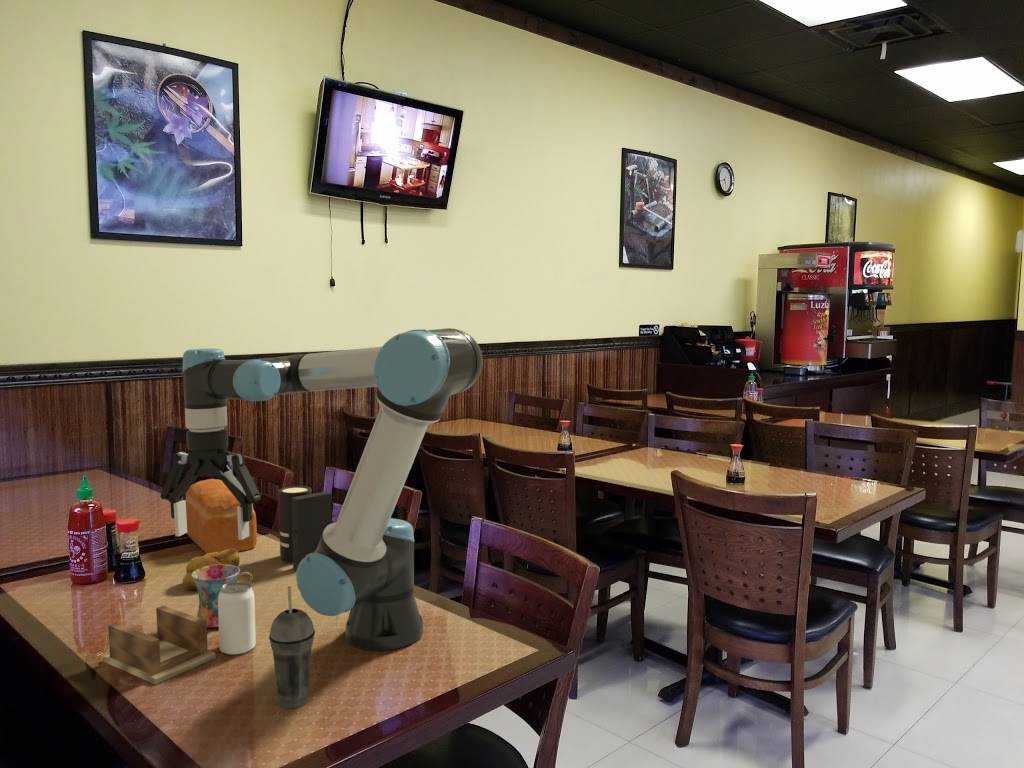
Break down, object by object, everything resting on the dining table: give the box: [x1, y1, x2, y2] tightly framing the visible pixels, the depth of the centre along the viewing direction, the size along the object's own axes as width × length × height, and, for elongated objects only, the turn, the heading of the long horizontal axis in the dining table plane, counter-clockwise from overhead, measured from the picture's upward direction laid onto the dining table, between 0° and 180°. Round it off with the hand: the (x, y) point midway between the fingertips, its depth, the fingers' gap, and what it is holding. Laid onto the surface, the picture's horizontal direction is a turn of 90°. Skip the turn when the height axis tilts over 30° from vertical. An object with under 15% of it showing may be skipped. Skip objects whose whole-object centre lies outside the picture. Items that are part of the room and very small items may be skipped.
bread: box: [185, 478, 258, 554], centre depth 214 cm, size 14×26×16 cm, turn 35°
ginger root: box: [182, 548, 241, 590], centre depth 183 cm, size 13×10×8 cm
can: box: [218, 581, 256, 656], centre depth 149 cm, size 6×6×12 cm
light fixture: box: [278, 485, 333, 571], centre depth 199 cm, size 10×14×18 cm
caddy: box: [102, 605, 216, 685], centre depth 144 cm, size 16×12×7 cm
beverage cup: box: [268, 585, 316, 709], centre depth 129 cm, size 7×7×20 cm
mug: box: [191, 564, 254, 629], centre depth 162 cm, size 12×9×11 cm
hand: (212, 536), depth 154 cm, fingers open, 13 cm apart
